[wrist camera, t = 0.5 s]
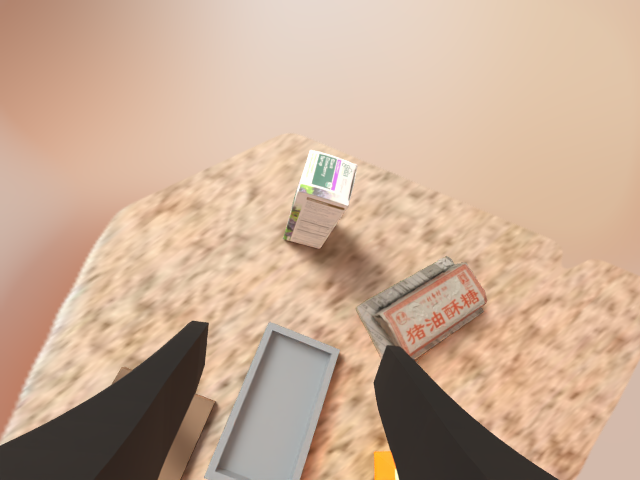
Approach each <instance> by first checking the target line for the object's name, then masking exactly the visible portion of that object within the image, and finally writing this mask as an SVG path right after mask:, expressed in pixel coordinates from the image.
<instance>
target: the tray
mask: <svg viewBox="0 0 640 480" xmlns="http://www.w3.org/2000/svg"><path fill="white" fill-rule="evenodd" d="M339 351H340V350H339V349H337V348H334V347H332V346H329V345H327V344H324V343H322V342H319V341H317V340H314V339H312V338H309V337H307V336H304V335H302V334H299V333H297V332H294V331H292V330H289V329H286V328H284V327H281V326H279V325H276V324H274V323H271V322H269V323H268V325H267V328H266V330H265V333H264V335H263V337H262V340H261V342H260V345H259V347H258V349H257V352H256V354H255V357H254V359H253V361H252V364H251V366H250V369H249V371H248V373H247V376H246V378H245V380H244V383H243V385H242V388H241V390H240V392H239V395H238V397H237V400H236V402H235V404H234V407H233V409H232V412H231V414H230V416H229V419H228V421H227V424H226V426H225V428H224V431H223V433H222V435H221V438H220V440H219V443H218V445H217V447H216V450H215V452H214V455H213V457H212V459H211V462H210V464H209V467H208V469H207V471H206V474H205V476H204V478H206V479H208V480H300V477H301V474H302V471H303V468H304V464H305V461H306V458H307V455H308V451H309V448H310V445H311V442H312V438H313V435H314V432H315V429H316V425H317V422H318V419H319V416H320V412H321V409H322V406H323V403H324V399H325V396H326V393H327V390H328V387H329V383H330V380H331V377H332V374H333V370H334V367H335V364H336V361H337V357H338V354H339Z"/></svg>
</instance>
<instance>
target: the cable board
mask: <svg viewBox="0 0 640 480" xmlns="http://www.w3.org/2000/svg"><path fill="white" fill-rule="evenodd" d="M131 371H132V370H131V369H129V368H126V367H122V368H121V369H120V371H119V373H118V374H117V376H116V378H115V380H114V381H113V383H112V384H114V383H115V382H117V381H118V380H120V379H121V378H122V377H124V376H125V375H127V374H128V373H129V372H131ZM214 403H215V401H213V400H211V399H208V398H205V397H203V396H200V395H197V394H195V395H194V397H193V399H192V402H191V404H190V406H189V408H188V410H187V413H186V415H185V417H184V419H183V421H182V424H181V426H180V428H179V430H178V432H177V435H176V437H175V439H174V441H173V443H172V446H171V448H170V450H169V452H168V455H167V457H166V459H165V462H164V464H163V467H162V469H161V472H160V475H159V477H158V480H181V478H182V475H183V473H184V471H185V469H186V466H187V464H188V462H189V459H190V457H191V455H192V453H193V450H194V448H195V446H196V444H197V441H198V439H199V437H200V435H201V432H202V430H203V428H204V426H205V423H206V421H207V419H208V417H209V414H210V412H211V410H212V408H213V405H214Z"/></svg>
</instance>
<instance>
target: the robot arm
mask: <svg viewBox="0 0 640 480" xmlns="http://www.w3.org/2000/svg"><path fill="white" fill-rule="evenodd" d="M208 325H209V323H206V322H198V321H191V322H190V323H188V324H187V325H186V326H185V327H184V328H183V329H182V330H181V331H180V332H179V333H178V334H176V335H175V336H174V337H173V338H172V339H171V340H170V341H168V342H167V343H166V344H165V345H164V346H163V347H161V348H160V349H159V350H158V351H157V352H155V353H154V354H153V355H152V356H150V357H149V358H148V359H147V360H145V361H144V362H143V363H141V364H140V365H139V366H137V367H136V368H135V369H133V370H132V371H131V372H129V373H128V374H127V375H125V376H124V377H122V378H121V379H120V380H118V381H117V382H115V383H114V384H112V385H111V386H109V387H108V388H106V389H105V390H103V391H101V392H100V393H98V394H97V395H95V396H94V397H92V398H90V399H89V400H87V401H85V402H83V403H82V404H80V405H78V406H77V407H75V408H73V409H71V410H70V411H68V412H66V413H64V414H62V415H61V416H59V417H57V418H55V419H53V420H51V421H49V422H48V423H46V424H44V425H42V426H40V427H38V428H36V429H34V430H32V431H30V432H28V433H26V434H24V435H22V436H20V437H18V438H15V439H13V440H11V441H9V442H7V443H5V444H3V445H1V446H0V480H158V477H159V475H160V472H161V469H162V467H163V464H164V462H165V459H166V457H167V455H168V452H169V450H170V448H171V446H172V443H173V441H174V439H175V437H176V435H177V432H178V430H179V428H180V426H181V424H182V421H183V419H184V417H185V415H186V413H187V410H188V408H189V406H190V404H191V402H192V399H193V397H194V395H195V393H196V390H197V387H198V384H199V381H200V378H201V375H202V372H203V369H204V366H205V356H206V346H207V335H208ZM374 388H375V395H376V400H377V406H378V410H379V414H380V417H381V420H382V424H383V427H384V431H385V434H386V437H387V440H388V444H389V447H390V450H391V454H392V457H393V460H394V464H395V467H396V470H397V474H398V478H399V480H558V479H557V478H555V477H554V476H552V475H551V474H549V473H547V472H546V471H544V470H543V469H541V468H540V467H538V466H537V465H535V464H534V463H532V462H531V461H529V460H528V459H526V458H525V457H523V456H522V455H521V454H519V453H518V452H516V451H515V450H514V449H512V448H511V447H510V446H508V445H507V444H505V443H504V442H503V441H501V440H500V439H499V438H497V437H496V436H495V435H494V434H492V433H491V432H490V431H488V430H487V429H486V428H485V427H484V426H482V425H481V424H480V423H479V422H478V421H476V420H475V419H474V418H473V417H471V416H470V415H469V414H468V413H467V412H466V411H465V410H464V409H462V408H461V407H460V406H459V405H458V404H457V403H456V402H455V401H454V400H453V399H452V398H451V397H450V396H448V395H447V394H446V393H445V392H444V391H443V390H442V389H441V388H440V387H439V386H438V385H437V384H436V383H435V382H434V381H433V380H432V379H431V378H430V377H429V375H428V374H427V373H426V372H425V371H424V370H423V369H422V368H421V367H420V366H419V365H418V364H417V363H416V362H415V361H414V360H413V359H412V358H411V357H410V356H409V355H408V354H407V352H406V351H405V350H403V349H402V348H401V347H399V346H391V345H386V348H385V351H384V354H383V357H382V360H381V363H380V366H379V369H378V371H377V374H376V377H375V380H374Z"/></svg>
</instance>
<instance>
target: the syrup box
mask: <svg viewBox="0 0 640 480" xmlns="http://www.w3.org/2000/svg"><path fill="white" fill-rule="evenodd" d="M356 170H357V165H356V164H354V163H351V162H349V161H346V160H344V159H341V158H338V157H335V156H332V155H329V154H325V153H322V152H318V151H314V150H310V152H309V155H308V158H307V161H306V164H305V167H304V170H303V173H302V176H301V179H300V182H299V185H298V188H297V191H296V194H295V197H294V201H293V204H292V208H291V212H290V216H289V219H288V223H287V227H286V231H285V235H284V238H283V239H285V240H288V241H292V242H296V243H299V244H303V245H307V246H311V247H315V248H318V249H320V248H321V247H322V245H323V244H324V242H325V241H326V239H327V238H328V236H329V235H330V233H331V232H332V230H333V229H334V227H335V226H336V224H337V223H338V221H339V220H340V218H341V217H342V215H343V214H344V212H345V211H346V209H347V208H348V206H349V201H350V197H351V193H352V189H353V186H354V181H355V175H356Z"/></svg>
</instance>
